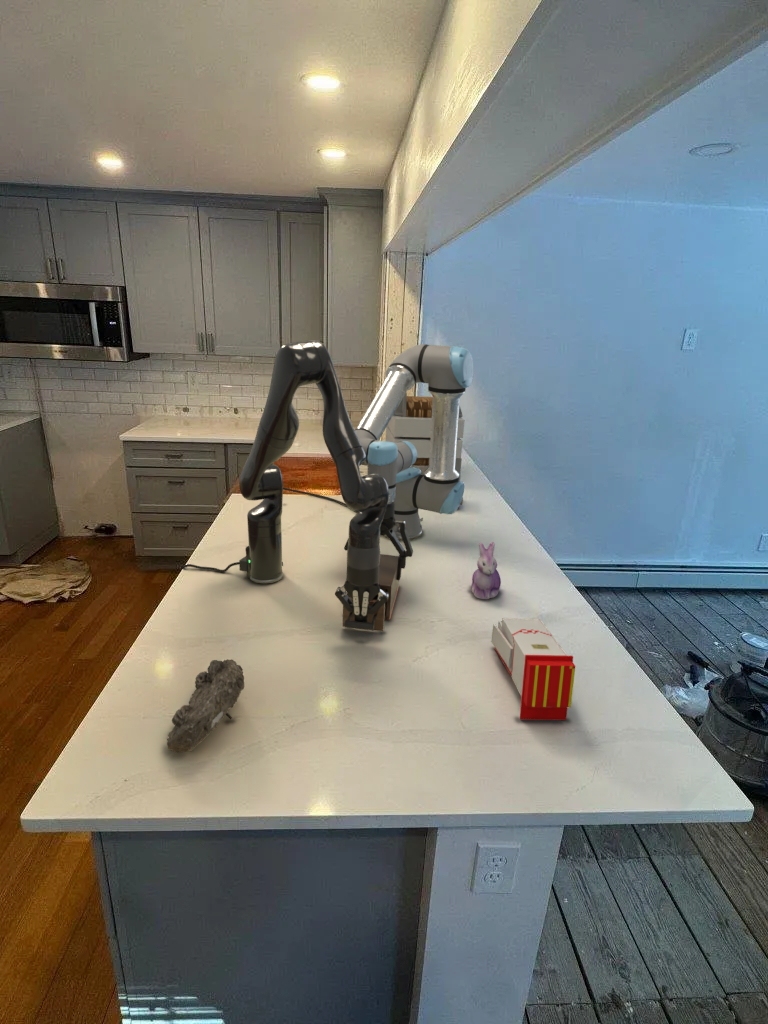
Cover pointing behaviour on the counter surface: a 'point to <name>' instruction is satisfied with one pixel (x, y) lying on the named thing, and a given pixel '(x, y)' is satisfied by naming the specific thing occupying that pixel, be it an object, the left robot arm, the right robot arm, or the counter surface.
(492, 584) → the figurine
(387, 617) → the cabinet
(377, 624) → the drawer
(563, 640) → the counter surface
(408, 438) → the white slatted crate
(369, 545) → the left robot arm
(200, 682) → the fossil
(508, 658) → the toy
